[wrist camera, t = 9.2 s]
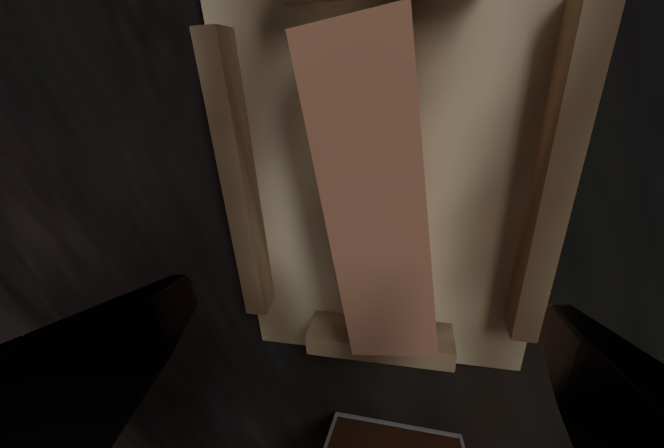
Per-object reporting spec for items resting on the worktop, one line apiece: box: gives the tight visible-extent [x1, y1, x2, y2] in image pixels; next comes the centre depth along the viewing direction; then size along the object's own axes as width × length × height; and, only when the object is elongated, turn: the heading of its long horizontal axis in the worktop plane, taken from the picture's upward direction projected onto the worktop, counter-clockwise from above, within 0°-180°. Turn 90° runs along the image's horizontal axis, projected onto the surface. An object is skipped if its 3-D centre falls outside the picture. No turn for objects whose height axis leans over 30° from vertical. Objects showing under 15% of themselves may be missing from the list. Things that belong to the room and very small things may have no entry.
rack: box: [189, 0, 626, 373], centre depth 16 cm, size 16×22×4 cm
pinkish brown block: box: [285, 0, 439, 357], centre depth 15 cm, size 4×14×4 cm, turn 10°
